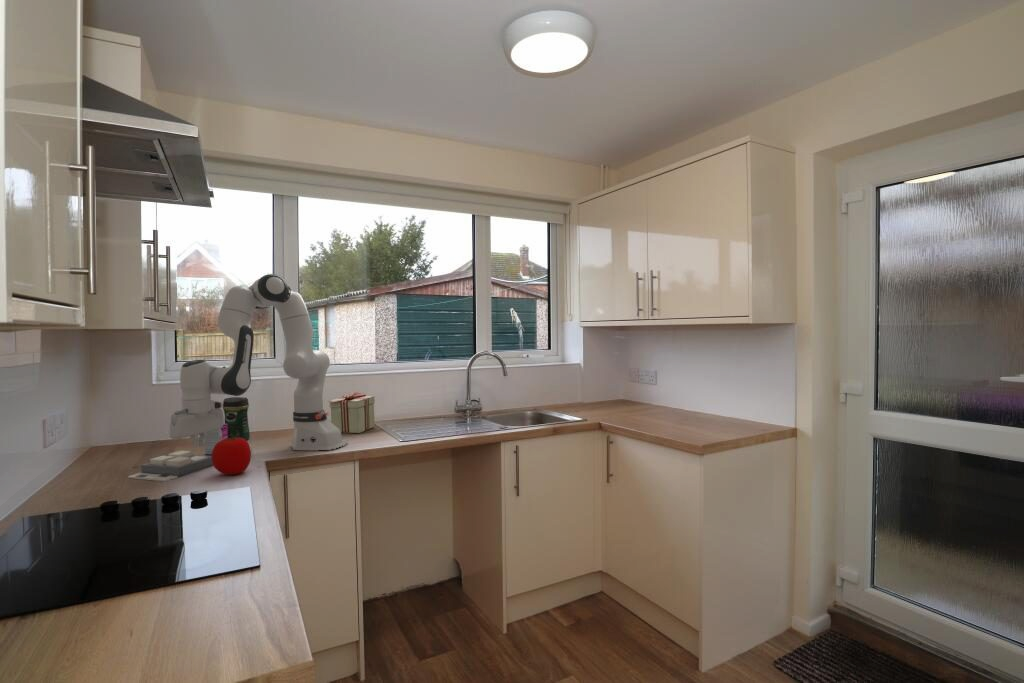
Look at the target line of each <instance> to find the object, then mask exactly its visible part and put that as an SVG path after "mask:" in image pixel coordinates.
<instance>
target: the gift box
mask: <svg viewBox="0 0 1024 683" xmlns="http://www.w3.org/2000/svg"><path fill="white" fill-rule="evenodd" d="M327 402H328V403H329V408H330V422H331V423H332V424H333V425H335V426H336V427H337V428H339V429H340V431H341V434H361V433H363V432H366V431H368V430H370V429H373V428H375V396H374V395H373V396H371V395H369V396H368V395H367V394H364V393H361V392H360V391H356V392H354V393H353V394H351V393H350V394H344V395H342V396H341V397H339V398H336V399H335V398H334V399H331V400H328V401H327Z"/></svg>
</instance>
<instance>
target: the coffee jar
mask: <svg viewBox="0 0 1024 683" xmlns="http://www.w3.org/2000/svg"><path fill="white" fill-rule="evenodd" d="M222 404H223V407H222V410H223V415H224V424H228V438H232V436H234V437H238V438H240V437H244V438H243V439H245V440H246V441H248V440H249V439H250V437H251V434H250V427H249V419H248V418H249V416H248V410H249V407H250V404H249V399H248V397H244V396H243V397H240V396H233V397H232V396H231V397H226V398H224V399H223V401H222Z"/></svg>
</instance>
